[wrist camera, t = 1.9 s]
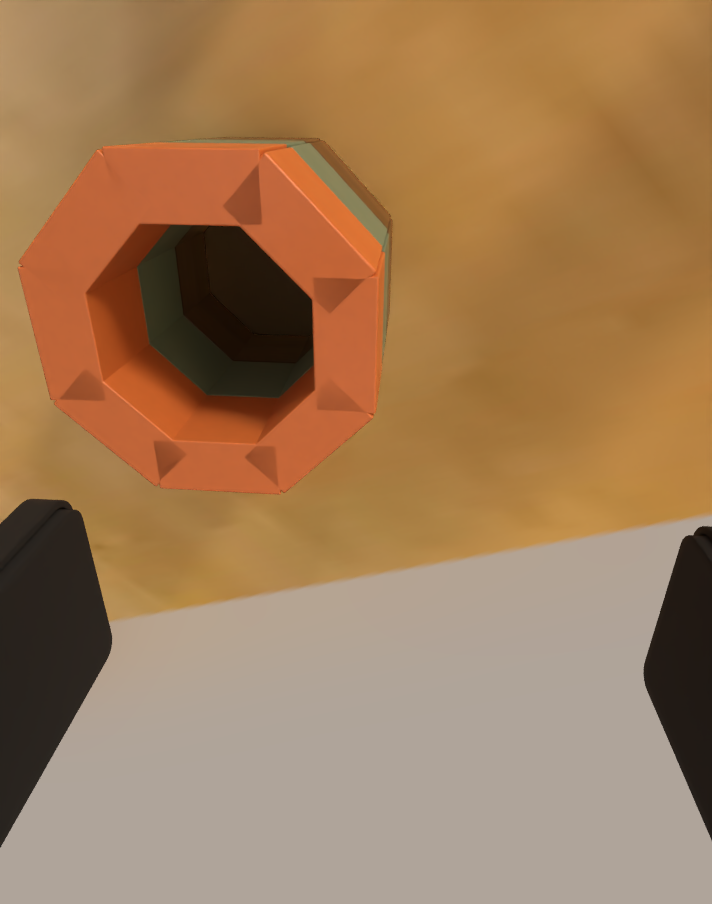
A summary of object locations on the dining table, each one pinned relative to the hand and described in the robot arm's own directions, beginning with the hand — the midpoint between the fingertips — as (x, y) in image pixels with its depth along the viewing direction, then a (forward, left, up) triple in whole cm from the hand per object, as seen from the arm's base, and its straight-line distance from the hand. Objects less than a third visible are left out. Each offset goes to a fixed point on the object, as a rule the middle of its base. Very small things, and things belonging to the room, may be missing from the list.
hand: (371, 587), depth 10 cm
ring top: (0, -6, -14) cm, 16 cm away
